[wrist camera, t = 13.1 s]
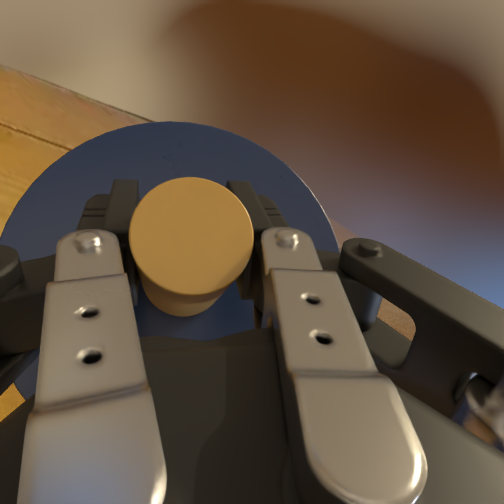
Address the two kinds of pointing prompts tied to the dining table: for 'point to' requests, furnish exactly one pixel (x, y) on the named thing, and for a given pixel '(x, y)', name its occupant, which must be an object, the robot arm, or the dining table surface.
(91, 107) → the dining table surface
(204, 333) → the lid
